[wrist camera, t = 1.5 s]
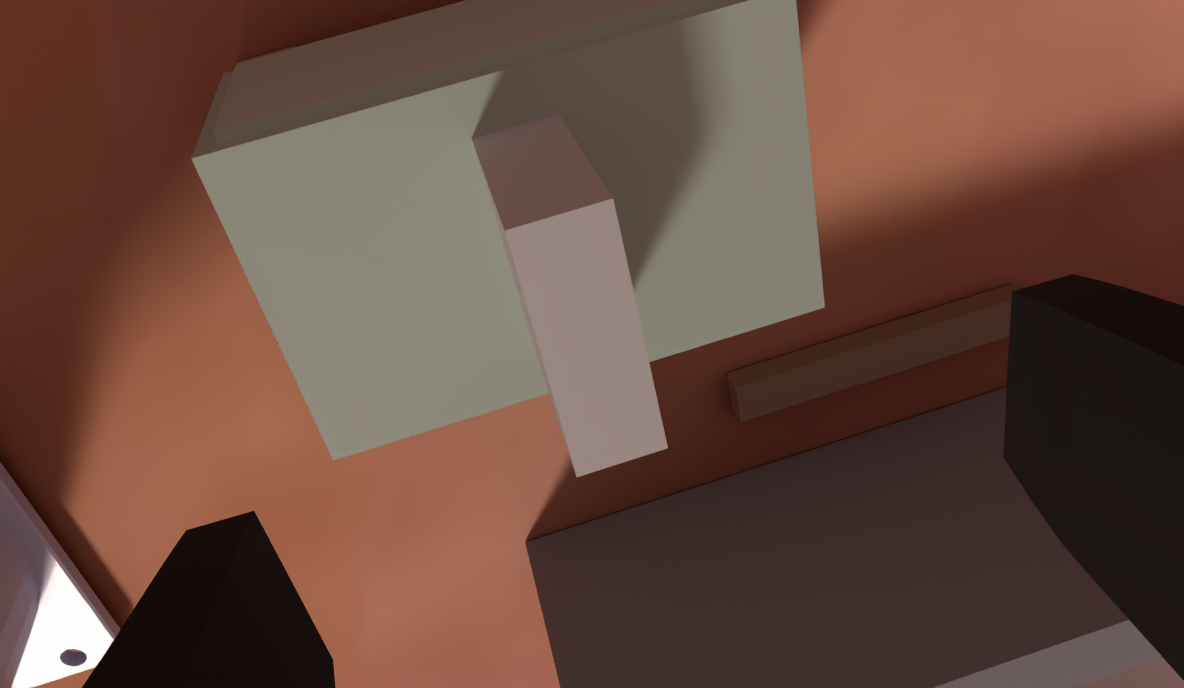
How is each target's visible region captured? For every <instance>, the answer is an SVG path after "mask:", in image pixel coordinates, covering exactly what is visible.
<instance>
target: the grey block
mask: <svg viewBox="0 0 1184 688" xmlns="http://www.w3.org/2000/svg"><path fill="white" fill-rule="evenodd" d="M191 159H192V161H193V164H194V166H195V168H196V170H197V172H198V174H199V176H200V178H201V180H202V183H203V185H204V187H205V189H206V191H207V193H208V195H209V197H210V200H211V202H212V204H213V206H214V208H215V210H216V212H217V214H218V217H219V219H220V221H221V223H222V225H223V227H224V229H225V231H226V234H227V236H228V238H229V240H230V242H231V244H232V246H233V248H234V251H235V253H236V255H237V257H238V259H239V261H240V263H241V265H242V268H243V270H244V272H245V274H246V276H247V278H248V280H249V282H250V285H251V287H252V289H253V291H254V293H255V295H256V297H257V299H258V302H259V304H260V306H261V308H262V310H263V312H264V314H265V316H266V319H267V321H268V323H269V325H270V327H271V329H272V331H273V333H274V336H275V338H276V340H277V342H278V344H279V346H280V348H281V350H282V353H283V355H284V357H285V359H286V361H287V363H288V365H289V367H290V370H291V372H292V374H293V376H294V378H295V380H296V382H297V384H298V387H299V389H300V391H301V393H302V395H303V397H304V399H305V401H306V404H307V406H308V408H309V410H310V412H311V414H312V416H313V418H314V421H315V423H316V425H317V427H318V429H319V431H320V433H321V435H322V438H323V440H324V442H325V444H326V446H327V448H328V450H329V452H330V455H331V457H332V459H333V461H334V460H337V459H340V458H343V457H346V456H350V455H353V454H356V453H359V452H362V451H366V450H369V449H372V448H375V447H379V446H382V445H385V444H388V443H391V442H395V441H398V440H401V439H404V438H407V437H411V436H414V435H417V434H420V433H423V432H427V431H430V430H433V429H436V428H440V427H443V426H446V425H449V424H452V423H456V422H459V421H462V420H465V419H468V418H472V417H475V416H478V415H481V414H485V413H488V412H491V411H494V410H497V409H501V408H504V407H507V406H510V405H513V404H517V403H520V402H523V401H526V400H529V399H533V398H536V397H539V396H542V395H546V394H549V396H550V399H551V402H552V405H553V408H554V411H555V414H556V417H557V420H558V423H559V426H560V429H561V432H562V435H563V438H564V441H565V444H566V447H567V450H568V453H569V456H570V459H571V462H572V465H573V468H574V470H575V473H576V476H577V477H580V476H583V475H586V474H589V473H592V472H595V471H598V470H601V469H605V468H608V467H611V466H614V465H617V464H620V463H623V462H627V461H630V460H633V459H636V458H639V457H642V456H645V455H649V454H652V453H655V452H658V451H661V450H664V449H667V448H668V446H667V441H666V437H665V432H664V428H663V423H662V419H661V414H660V409H659V405H658V400H657V396H656V391H655V387H654V382H653V377H652V373H651V368H650V364H649V362H652V361H655V360H658V359H661V358H664V357H668V356H671V355H674V354H677V353H680V352H684V351H687V350H690V349H693V348H697V347H700V346H703V345H706V344H709V343H713V342H716V341H719V340H722V339H725V338H729V337H732V336H735V335H738V334H741V333H745V332H748V331H751V330H754V329H758V328H761V327H764V326H767V325H770V324H774V323H777V322H780V321H783V320H786V319H790V318H793V317H796V316H799V315H802V314H806V313H809V312H812V311H815V310H819V309H822V308H825V304H824V293H823V282H822V271H821V261H820V250H819V239H818V229H817V218H816V207H815V197H814V186H813V175H812V164H811V154H810V143H809V132H808V122H807V111H806V100H805V90H804V79H803V68H802V57H801V47H800V36H799V25H798V15H797V4H796V0H464V1H461V2H457V3H453V4H450V5H446V6H443V7H439V8H435V9H432V10H428V11H425V12H421V13H417V14H414V15H410V16H407V17H403V18H399V19H396V20H392V21H389V22H385V23H381V24H378V25H374V26H371V27H367V28H363V29H360V30H356V31H352V32H349V33H345V34H342V35H338V36H334V37H331V38H327V39H324V40H320V41H316V42H313V43H309V44H306V45H302V46H298V47H296V46H292V47H288V48H284V49H281V50H277V51H274V52H270V53H266V54H263V55H259V56H256V57H252V58H248V59H245V60H241V61H238V62H237V64H236V66H235V68H234V70H233V71H229V72H226V73H223V75H222V77H221V80H220V83H219V85H218V88H217V91H216V94H215V96H214V99H213V102H212V104H211V107H210V110H209V112H208V115H207V118H206V120H205V123H204V126H203V128H202V131H201V134H200V136H199V139H198V142H197V144H196V147H195V150H194V152H193V155H192V158H191Z"/></svg>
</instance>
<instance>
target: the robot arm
mask: <svg viewBox="0 0 1184 688" xmlns="http://www.w3.org/2000/svg"><path fill="white" fill-rule="evenodd" d="M1003 458H1004V459H1005V461H1006V462H1007V464H1008V465H1009V467H1010V468H1011V470H1012V471H1013V473H1014V474H1015V476H1016V478H1017V479H1018V481H1019V482H1020V484H1021V485H1022V487H1023V488H1024V490H1025V491H1026V493H1027V494H1028V496H1029V497H1030V499H1031V500H1032V502H1033V503H1034V505H1035V506H1036V508H1037V509H1038V511H1039V512H1040V513H1041V515H1042V516H1043V518H1044V519H1045V521H1046V522H1047V523H1048V525H1049V526H1050V528H1051V529H1052V530H1053V532H1054V533H1055V535H1056V536H1057V538H1058V539H1059V540H1060V542H1061V543H1062V544H1063V545H1064V547H1065V548H1066V549H1067V550H1068V551H1069V552H1070V554H1071V555H1072V556H1073V557H1074V558H1075V559H1076V561H1077V562H1078V563H1079V564H1080V565H1081V566H1082V567H1083V569H1084V570H1085V571H1086V572H1087V573H1088V574H1089V575H1090V576H1091V578H1092V579H1093V580H1094V581H1095V582H1096V583H1097V584H1098V586H1099V587H1100V588H1101V589H1102V590H1103V591H1104V592H1105V593H1106V595H1107V596H1108V597H1109V598H1110V599H1111V600H1112V601H1113V602H1114V604H1115V605H1116V606H1117V607H1118V608H1119V609H1120V610H1121V611H1122V613H1123V614H1124V615H1125V616H1126V617H1127V618H1128V619H1129V620H1130V621H1131V623H1132V624H1133V625H1134V626H1135V627H1136V628H1137V629H1138V630H1139V631H1140V633H1141V634H1142V635H1143V636H1144V637H1145V638H1146V639H1147V640H1148V641H1149V643H1150V644H1151V645H1152V646H1153V647H1154V648H1155V649H1156V650H1157V651H1158V652H1159V654H1160V655H1161V656H1162V657H1163V658H1164V659H1165V660H1166V661H1167V662H1168V664H1169V665H1170V666H1171V667H1172V668H1173V669H1174V670H1175V671H1176V672H1177V673H1178V675H1179V676H1180V677H1181V678H1182V679H1183V680H1184V306H1182V305H1179V304H1176V303H1173V302H1170V301H1166V300H1163V299H1160V298H1157V297H1153V296H1150V295H1147V294H1144V293H1140V292H1137V291H1134V290H1130V289H1127V288H1124V287H1120V286H1117V285H1113V284H1110V283H1106V282H1102V281H1099V280H1094V279H1090V278H1086V277H1082V276H1078V275H1073V274H1072V275H1068V276H1065V277H1061V278H1058V279H1054V280H1051V281H1047V282H1044V283H1040V284H1037V285H1034V286H1030V287H1027V288H1023V289H1020V290H1016V291H1013V292H1012V299H1011V318H1010V338H1009V357H1008V377H1007V396H1006V415H1005V435H1004V454H1003ZM68 649H78V650H81V651H83V652H72V651H69V650H68ZM94 667H96V668H95V669H94V671H93V672H92V674H91V675H90V677H89V678H88V680H87V681H86V683H85V684H84V686H83V687H82V688H335V678H334V667H333V659H332V657H331V655H330V653H329V651H328V650H327V648H326V646H325V644H324V642H323V640H322V638H321V636H320V634H319V633H318V631H317V629H316V627H315V625H314V623H313V621H312V619H311V617H310V616H309V614H308V612H307V610H306V608H305V606H304V604H303V602H302V600H301V599H300V597H299V595H298V593H297V591H296V589H295V587H294V585H293V583H292V582H291V580H290V578H289V576H288V574H287V572H286V570H285V568H284V566H283V565H282V563H281V561H280V559H279V557H278V555H277V553H276V551H275V549H274V548H273V546H272V544H271V542H270V540H269V538H268V536H267V534H266V532H265V531H264V529H263V527H262V525H261V523H260V521H259V519H258V517H257V515H256V514H255V512H254V511H252V512H248V513H245V514H241V515H238V516H234V517H231V518H227V519H224V520H221V521H217V522H214V523H210V524H207V525H203V526H200V527H196V528H193V529H189V530H186V532H185V533H184V534H183V536H182V537H181V539H180V540H179V541H178V543H177V544H176V546H175V547H174V549H173V550H172V552H171V553H170V554H169V556H168V557H167V559H166V560H165V562H164V563H163V565H162V567H161V568H160V570H159V571H158V573H157V574H156V576H155V577H154V579H153V580H152V582H151V583H150V585H149V586H148V588H147V590H146V591H145V593H144V594H143V596H142V597H141V599H140V600H139V602H138V603H137V605H136V607H135V608H134V610H133V611H132V613H131V614H130V616H129V617H128V619H127V620H126V622H125V624H124V625H123V627H122V628H121V629H120V628H119V626H118V625H117V624H116V622H115V621H114V619H113V618H112V617H111V615H110V614H109V612H108V611H107V610H106V608H105V607H104V606H103V604H102V603H101V601H100V600H99V599H98V597H97V596H96V594H95V593H94V592H93V590H92V589H91V587H90V586H89V585H88V583H87V582H86V580H85V579H84V578H83V576H82V575H81V574H80V572H79V571H78V569H77V568H76V567H75V565H74V564H73V562H72V561H71V560H70V558H69V557H68V555H67V554H66V553H65V551H64V550H63V549H62V547H61V546H60V544H59V543H58V542H57V540H56V539H55V537H54V536H53V535H52V533H51V532H50V530H49V529H48V528H47V526H46V525H45V523H44V522H43V521H42V519H41V518H40V517H39V515H38V514H37V512H36V511H35V510H34V508H33V507H32V505H31V504H30V503H29V501H28V500H27V498H26V497H25V496H24V494H23V493H22V492H21V490H20V489H19V487H18V486H17V485H16V483H15V482H14V480H13V479H12V478H11V476H10V475H9V473H8V472H7V471H6V469H5V468H4V466H3V465H2V464H1V462H0V688H32V687H35V686H38V685H41V684H45V683H48V682H51V681H54V680H57V679H60V678H63V677H66V676H69V675H73V674H76V673H79V672H82V671H85V670H88V669H91V668H94Z"/></svg>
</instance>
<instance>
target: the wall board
mask: <svg viewBox="0 0 1184 688" xmlns="http://www.w3.org/2000/svg"><path fill="white" fill-rule="evenodd" d="M1016 290H1019V289H1018V288H1016V287H1015V286H1014V285H1012V284H1009V285H1006V286H1002V287H999V288H996V289H993V290H990V291H986V292H983V293H980V294H977V295H974V296H971V297H967V298H964V299H961V300H958V301H955V302H951V303H948V304H945V305H942V306H939V307H936V308H932V309H929V310H926V311H923V312H920V313H916V314H913V315H910V316H907V317H904V318H900V319H897V320H894V321H891V322H888V323H885V324H881V325H878V326H875V327H872V328H869V329H865V330H862V331H859V332H856V333H853V334H850V335H846V336H843V337H840V338H837V339H834V340H830V341H827V342H824V343H821V344H818V345H815V346H811V347H808V348H805V349H802V350H799V351H795V352H792V353H789V354H786V355H783V356H780V357H776V358H773V359H770V360H767V361H764V362H760V363H757V364H754V365H751V366H748V367H745V368H741V369H738V370H735V371H732V372H729V373H726V376H727V382H728V388H729V394H730V400H731V406H732V409H733V411H734V412H735V414H736V415H737V417H738V419H739V420H740V422H744V421H747V420H750V419H754V418H757V417H760V416H763V415H766V414H769V413H772V412H776V411H779V410H782V409H785V408H788V407H791V406H794V405H797V404H801V403H804V402H807V401H810V400H813V399H816V398H819V397H823V396H826V395H829V394H832V393H835V392H838V391H841V390H845V389H848V388H851V387H854V386H857V385H860V384H863V383H867V382H870V381H873V380H876V379H879V378H882V377H885V376H888V375H892V374H895V373H898V372H901V371H904V370H907V369H910V368H914V367H917V366H920V365H923V364H926V363H929V362H932V361H936V360H939V359H942V358H945V357H948V356H951V355H954V354H958V353H961V352H964V351H967V350H970V349H973V348H976V347H979V346H983V345H986V344H989V343H992V342H995V341H998V340H1001V339H1005V338H1008V337H1010V318H1011V299H1012V292H1013V291H1016ZM1006 396H1007V387H1005V388H1002V389H998V390H995V391H992V392H989V393H986V394H983V395H980V396H977V397H974V398H971V399H967V400H964V401H961V402H958V403H955V404H952V405H949V406H946V407H943V408H940V409H937V410H933V411H930V412H927V413H924V414H921V415H918V416H915V417H912V418H909V419H906V420H902V421H899V422H896V423H893V424H890V425H887V426H884V427H881V428H878V429H875V430H871V431H868V432H865V433H862V434H859V435H856V436H853V437H850V438H847V439H844V440H840V441H837V442H834V443H831V444H828V445H825V446H822V447H819V448H816V449H813V450H810V451H806V452H803V453H800V454H797V455H794V456H791V457H788V458H785V459H782V460H779V461H775V462H772V463H769V464H766V465H763V466H760V467H757V468H754V469H751V470H748V471H744V472H741V473H738V474H735V475H732V476H729V477H726V478H723V479H720V480H717V481H714V482H710V483H707V484H704V485H701V486H698V487H695V488H692V489H689V490H686V491H683V492H679V493H676V494H673V495H670V496H667V497H664V498H661V499H658V500H655V501H652V502H648V503H645V504H642V505H639V506H636V507H633V508H630V509H627V510H624V511H621V512H617V513H614V514H611V515H608V516H605V517H602V518H599V519H596V520H593V521H590V522H587V523H583V524H580V525H577V526H574V527H571V528H568V529H565V530H562V531H559V532H556V533H552V534H549V535H546V536H543V537H540V538H537V539H534V540H531V541H528V542H525V543H526V547H527V551H528V555H529V559H530V563H531V568H532V572H533V576H534V580H535V584H536V588H537V592H538V596H539V601H540V605H541V609H542V613H543V617H544V621H545V625H546V629H547V634H548V638H549V642H550V646H551V650H552V654H553V658H554V662H555V667H556V671H557V675H558V679H559V683H560V687H561V688H1074V687H1077V686H1080V685H1083V684H1086V683H1089V682H1091V681H1094V680H1097V679H1100V678H1103V677H1106V676H1108V675H1112V674H1114V673H1117V672H1120V671H1123V670H1126V669H1129V668H1131V667H1134V666H1137V665H1140V664H1143V663H1146V662H1149V661H1151V660H1154V659H1157V658H1160V657H1162V656H1161V655H1160V654H1159V652H1158V651H1157V650H1156V649H1155V648H1154V647H1153V646H1152V645H1151V644H1150V643H1149V641H1148V640H1147V639H1146V638H1145V637H1144V636H1143V635H1142V634H1141V633H1140V631H1139V630H1138V629H1137V628H1136V627H1135V626H1134V625H1133V624H1132V623H1131V621H1130V620H1129V619H1128V618H1127V617H1126V616H1125V615H1124V614H1123V613H1122V611H1121V610H1120V609H1119V608H1118V607H1117V606H1116V605H1115V604H1114V602H1113V601H1112V600H1111V599H1110V598H1109V597H1108V596H1107V595H1106V593H1105V592H1104V591H1103V590H1102V589H1101V588H1100V587H1099V586H1098V584H1097V583H1096V582H1095V581H1094V580H1093V579H1092V578H1091V576H1090V575H1089V574H1088V573H1087V572H1086V571H1085V570H1084V569H1083V567H1082V566H1081V565H1080V564H1079V563H1078V562H1077V561H1076V559H1075V558H1074V557H1073V556H1072V555H1071V554H1070V552H1069V551H1068V550H1067V549H1066V548H1065V547H1064V545H1063V544H1062V543H1061V542H1060V540H1059V539H1058V538H1057V536H1056V535H1055V533H1054V532H1053V530H1052V529H1051V528H1050V526H1049V525H1048V523H1047V522H1046V521H1045V519H1044V518H1043V516H1042V515H1041V513H1040V512H1039V511H1038V509H1037V508H1036V506H1035V505H1034V503H1033V502H1032V500H1031V499H1030V497H1029V496H1028V494H1027V493H1026V491H1025V490H1024V488H1023V487H1022V485H1021V484H1020V482H1019V481H1018V479H1017V478H1016V476H1015V474H1014V473H1013V471H1012V470H1011V468H1010V467H1009V465H1008V464H1007V462H1006V461H1005V459H1004V458H1003V454H1004V435H1005V415H1006Z"/></svg>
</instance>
